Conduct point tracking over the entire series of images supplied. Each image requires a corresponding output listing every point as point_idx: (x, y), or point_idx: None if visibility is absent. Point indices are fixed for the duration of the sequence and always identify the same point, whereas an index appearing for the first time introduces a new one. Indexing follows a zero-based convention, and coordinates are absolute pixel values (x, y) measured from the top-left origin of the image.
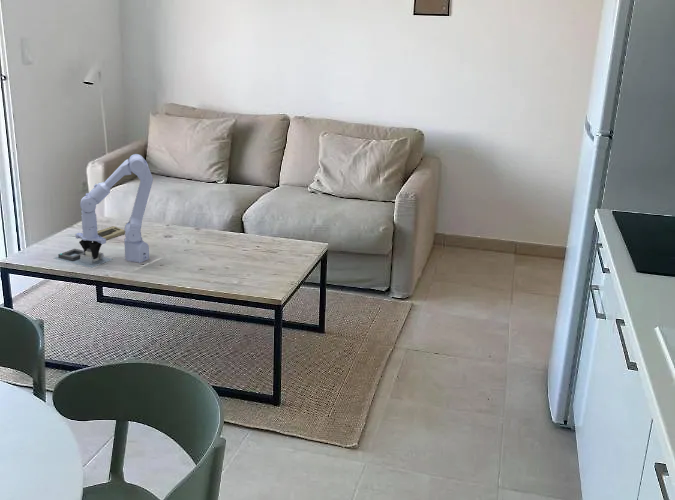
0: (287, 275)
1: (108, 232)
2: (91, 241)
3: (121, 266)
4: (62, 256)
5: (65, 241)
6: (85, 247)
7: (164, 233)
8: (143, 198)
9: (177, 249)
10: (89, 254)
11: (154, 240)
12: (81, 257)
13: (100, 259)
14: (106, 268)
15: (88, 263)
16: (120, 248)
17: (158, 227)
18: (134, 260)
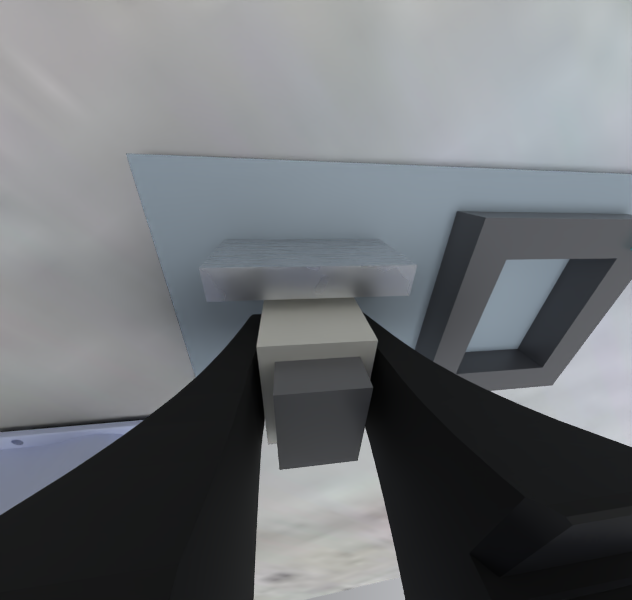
0: None
1: None
2: (403, 567)
3: (59, 368)
4: (611, 218)
5: (614, 425)
6: (406, 400)
7: (311, 577)
8: None
9: None
10: (289, 322)
11: (289, 557)
12: (383, 256)
13: None
14: (91, 277)
15: (271, 240)
16: (339, 489)
17: (360, 579)
18: (33, 461)
